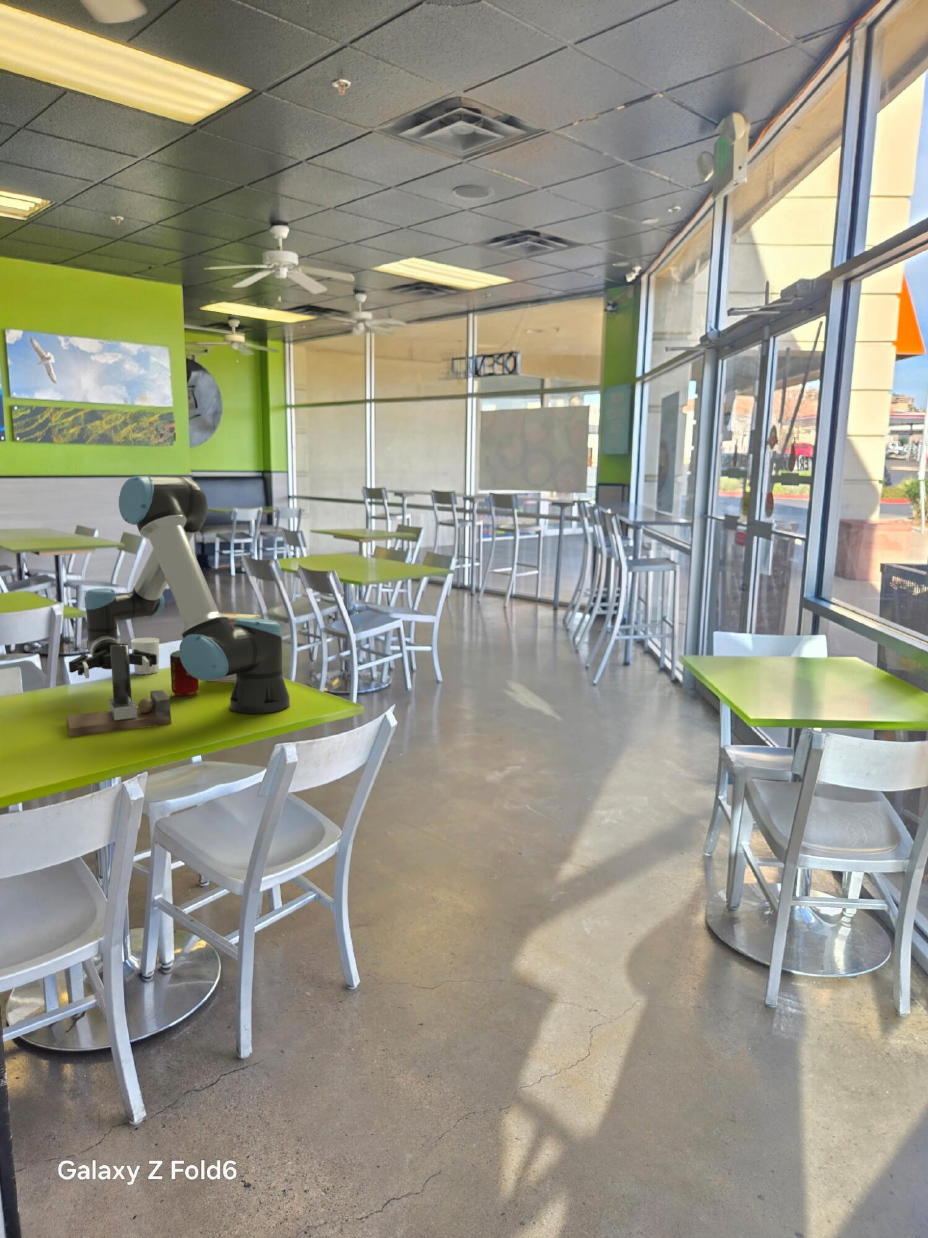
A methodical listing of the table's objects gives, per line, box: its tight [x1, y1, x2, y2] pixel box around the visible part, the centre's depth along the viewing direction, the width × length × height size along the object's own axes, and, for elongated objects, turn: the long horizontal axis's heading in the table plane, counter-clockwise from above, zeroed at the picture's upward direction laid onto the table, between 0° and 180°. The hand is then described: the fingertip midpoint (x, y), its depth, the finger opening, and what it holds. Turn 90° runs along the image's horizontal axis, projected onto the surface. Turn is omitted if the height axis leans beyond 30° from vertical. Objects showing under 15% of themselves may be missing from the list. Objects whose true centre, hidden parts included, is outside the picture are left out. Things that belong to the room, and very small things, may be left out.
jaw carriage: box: [108, 643, 138, 720], centre depth 191 cm, size 5×9×17 cm, turn 30°
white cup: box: [130, 637, 160, 675], centre depth 243 cm, size 8×8×10 cm
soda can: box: [169, 649, 200, 699], centre depth 218 cm, size 7×7×12 cm
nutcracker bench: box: [66, 689, 172, 738], centre depth 192 cm, size 22×11×6 cm, turn 120°
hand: (118, 670), depth 193 cm, fingers open, 13 cm apart
